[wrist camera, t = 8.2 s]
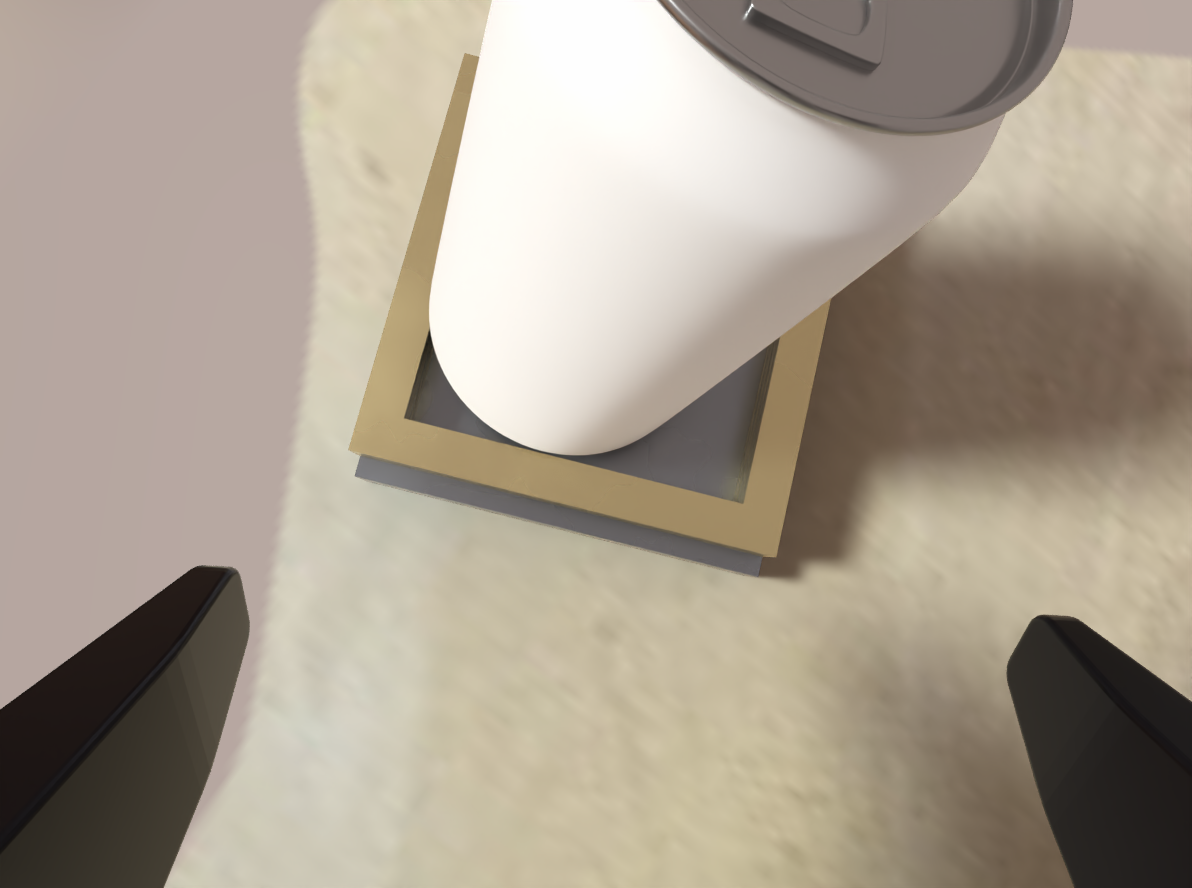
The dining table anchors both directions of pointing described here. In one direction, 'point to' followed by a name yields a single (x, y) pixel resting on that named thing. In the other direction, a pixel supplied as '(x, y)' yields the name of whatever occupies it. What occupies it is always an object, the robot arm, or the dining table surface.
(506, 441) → the gold square coaster
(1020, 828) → the dining table surface
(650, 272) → the can
